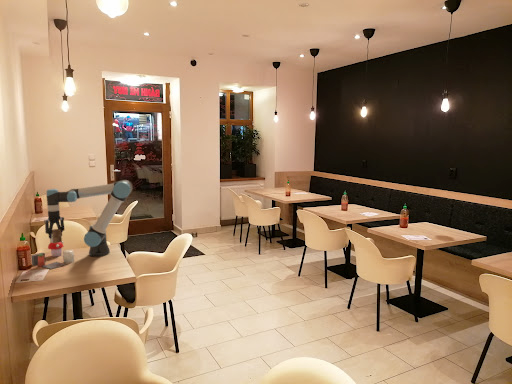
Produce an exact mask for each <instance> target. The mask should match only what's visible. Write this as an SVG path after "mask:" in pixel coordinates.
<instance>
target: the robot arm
mask: <svg viewBox="0 0 512 384" xmlns="http://www.w3.org/2000/svg"><path fill="white" fill-rule="evenodd" d="M133 187H134V186H133V183H132V181H129V180H127V179H122V180H119V181H114V182H113V183H108V184H102V185H101V184H100V185H94V186H87V187H86V186H85V187H81V188H71V189H69V190H66V191H59V189H57V188H51V189H50V188H49V189H47V190H46V205H47V216H48V217H47V219H44V221H43V222H44V225H45V234H47V235H48V239H49V243H50V242H51V243H53V234H52V230H53V229H54V225H55V224H56V227H57V229H60V230H61V237H62V236H63V232H64V231H65V221H64V220H65V217H63V216H60V215H61V211H60V203H74V202H75V203H76V202H77V199H78V200H79V199H83V198H90V197H91V198H92V197H97V196H98V197H99V196H105V195H110V198H109V200H108V201H107V204H106V205H105V206H104V208H103V209H102V211H101V213H100V215H99V217H98V219H97V220H96V221H95V223H94V224H91V225H89V230H88V231H87V232H86V233H85V234H84V237H83V242H84V244H85V245H87V246H88V247H89V250H88V256H89V257H103V256H107V255H108V254H110V251H111V249H110V247H109V245H108V243H107V242H108V241H107V228H108V227H109V224H111V221H112V220H113V218H114V217H115V214H116V213H117V211H118V210H119V208H120V206H121V205H122V203H124V202H126V200H127V199H128V197H129V195H130V194H131V193H132V192H133V189H134V188H133Z"/></svg>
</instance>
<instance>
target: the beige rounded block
mask: <svg viewBox="0 0 512 384" xmlns="http://www.w3.org/2000/svg"><path fill="white" fill-rule="evenodd" d="M62 257H63V260H62V261H63V264H72V263H74V262H75V255H74V250H73V249H67V250H64V251H63V250H62Z"/></svg>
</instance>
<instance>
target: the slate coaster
mask: <svg viewBox="0 0 512 384" xmlns="http://www.w3.org/2000/svg"><path fill="white" fill-rule="evenodd" d="M66 264H67V263H64V262H58V261H54V262H51V263H48V264H45V265H44V266H42V267H41V268H44V269H48V270H53V269H57V268H60V267H64V266H66Z"/></svg>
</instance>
